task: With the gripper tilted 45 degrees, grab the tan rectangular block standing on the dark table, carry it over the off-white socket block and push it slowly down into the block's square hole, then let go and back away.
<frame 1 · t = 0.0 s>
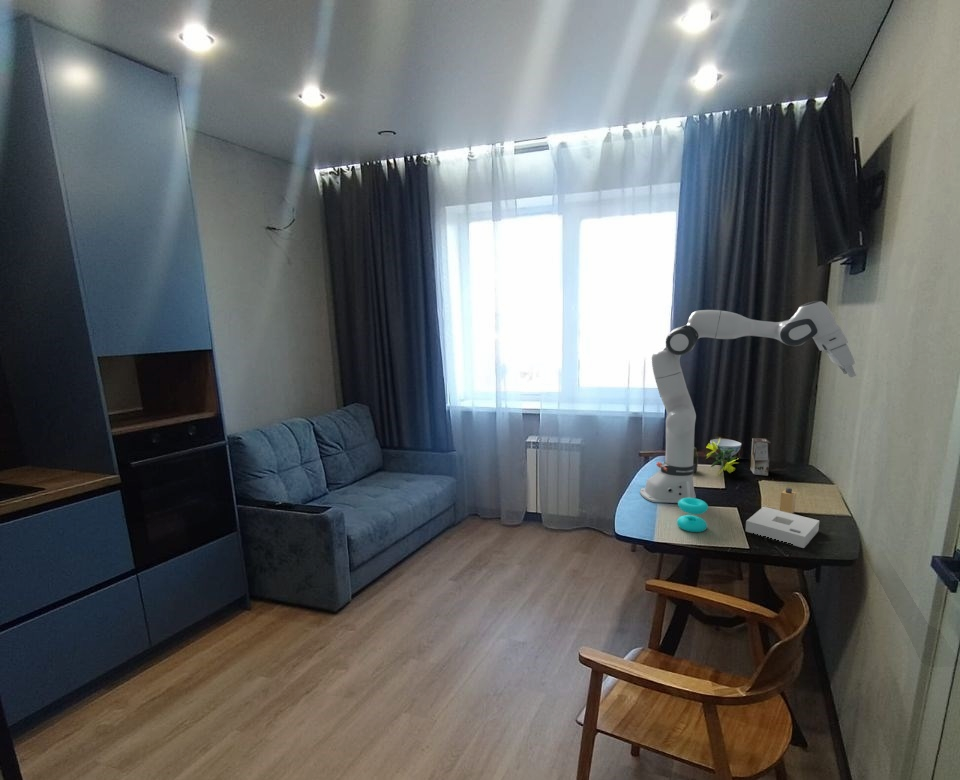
hand: (849, 374, 177), 54 cm above the table, tool tilted 30°, fingers open, 8 cm apart
coffee box: (759, 472, 237), on the table
supplement bottle: (689, 471, 240), on the table
chinaware: (724, 456, 263), on the table
tan rectangular block: (786, 511, 191), on the table
socket block: (781, 531, 174), on the table
donuts: (691, 528, 179), on the table
daffodil flowers: (720, 469, 243), on the table
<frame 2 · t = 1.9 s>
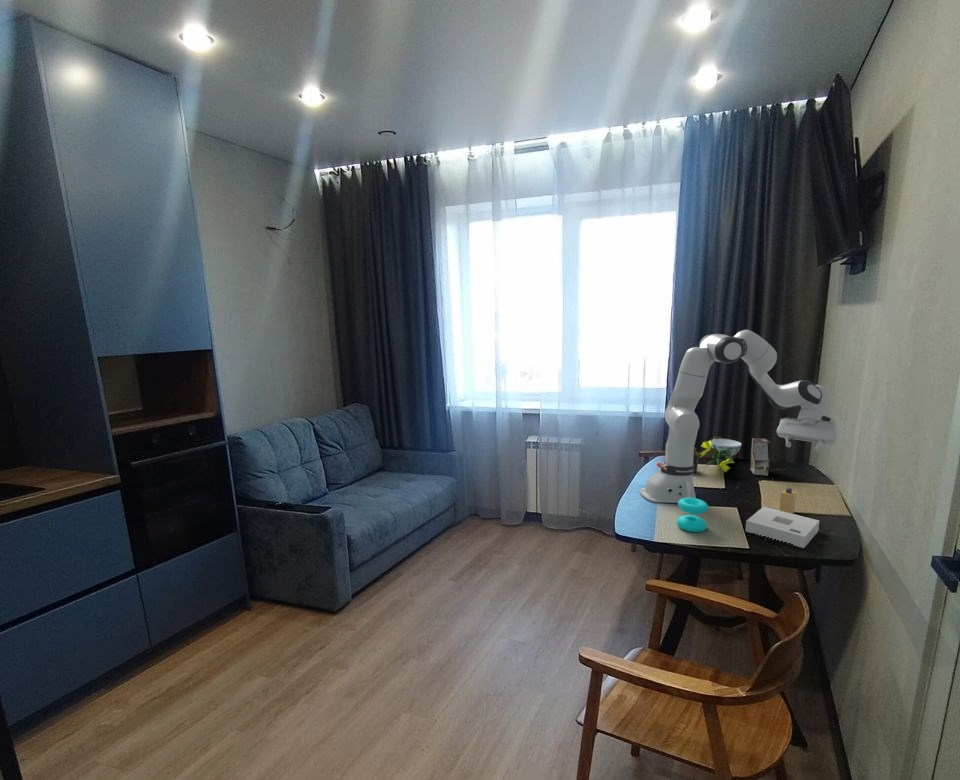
hand: (801, 448, 195), 23 cm above the table, tool tilted 45°, fingers open, 8 cm apart
daffodil flowers: (717, 468, 245), on the table
everything else where it was.
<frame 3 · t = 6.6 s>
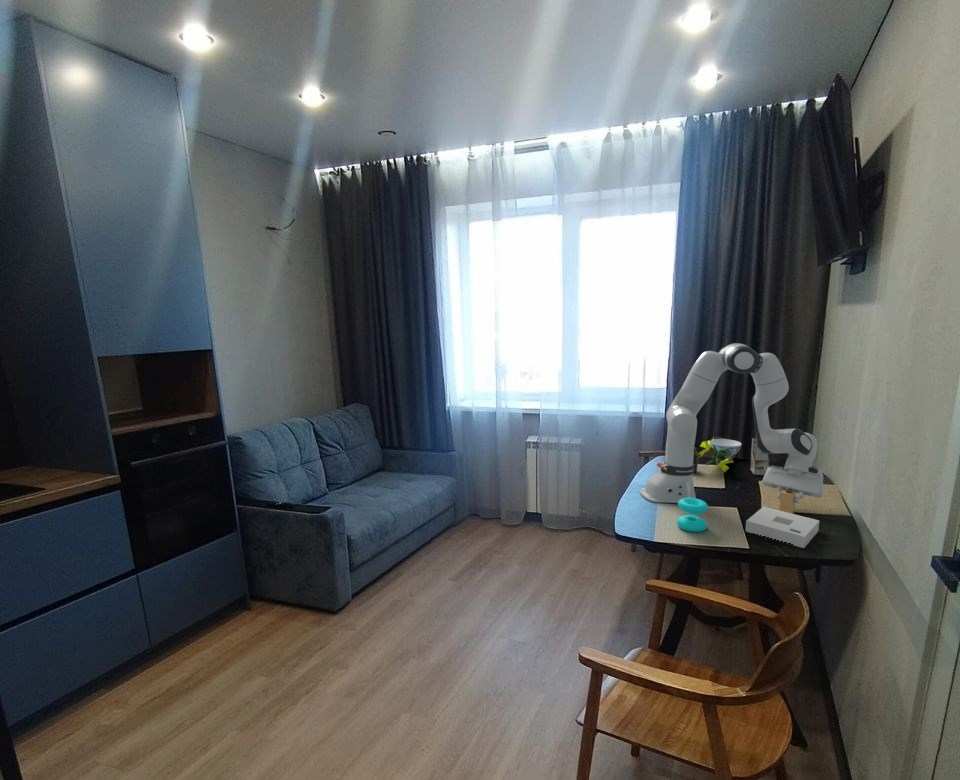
hand: (787, 500, 189), 5 cm above the table, tool tilted 45°, fingers closed on tan rectangular block, 4 cm apart
supplement bottle: (689, 471, 240), on the table, touching daffodil flowers
chinaware: (724, 456, 264), on the table, touching daffodil flowers
tan rectangular block: (786, 511, 191), on the table, touching gripper
daffodil flowers: (717, 468, 245), on the table, touching chinaware, supplement bottle
everything else where it was.
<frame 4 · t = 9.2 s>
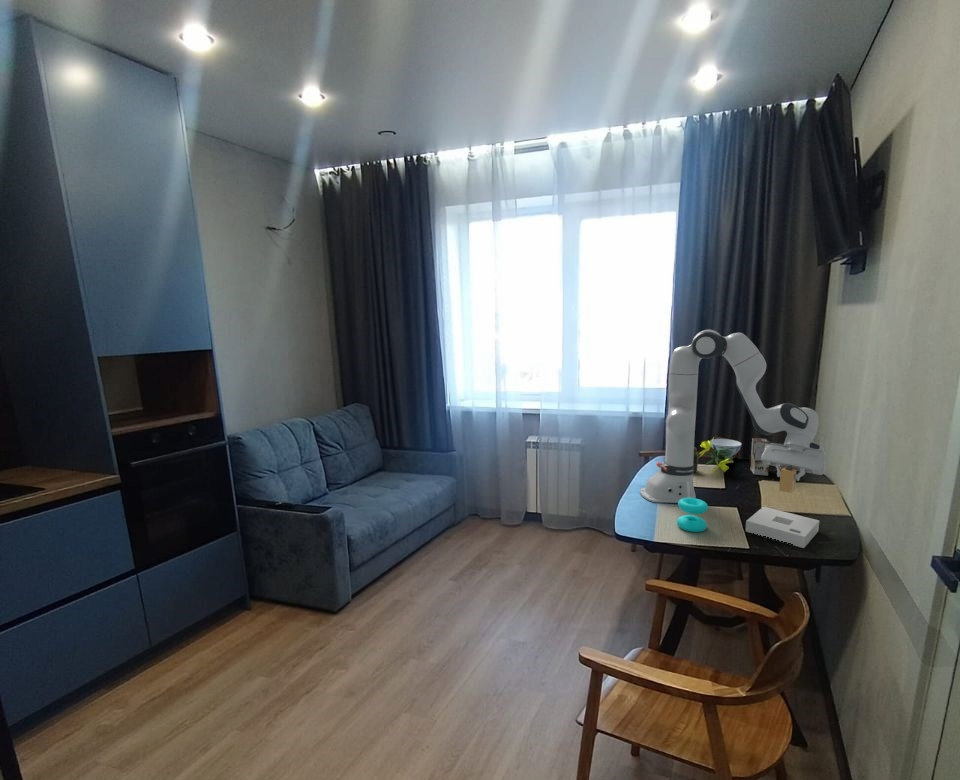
hand: (787, 478, 179), 17 cm above the table, tool tilted 45°, fingers closed on tan rectangular block, 4 cm apart
chinaware: (724, 456, 264), on the table
tan rectangular block: (786, 490, 180), point 12 cm above the table, touching gripper
daffodil flowers: (716, 468, 245), on the table, touching supplement bottle
everything else where it was.
when the fingers open (7 cm above the table, at t = 12.2 s): tan rectangular block drops 2 cm, resting in socket block.
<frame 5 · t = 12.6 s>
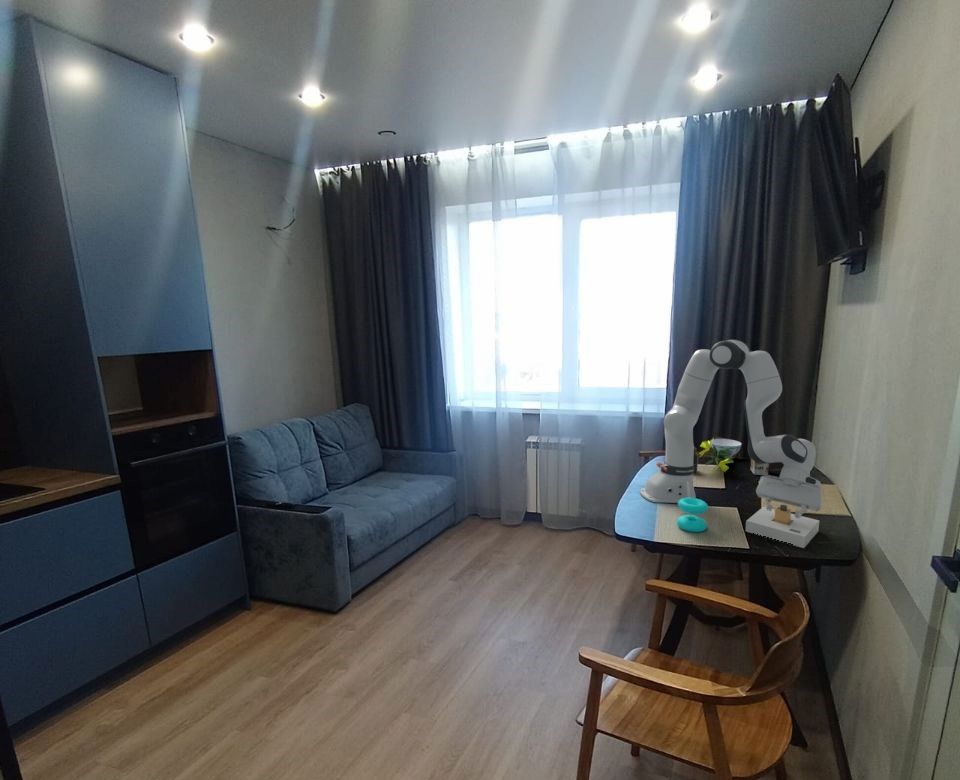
hand: (782, 513, 173), 7 cm above the table, tool tilted 45°, fingers open, 8 cm apart
tan rectangular block: (781, 531, 174), resting in socket block
everything else where it was.
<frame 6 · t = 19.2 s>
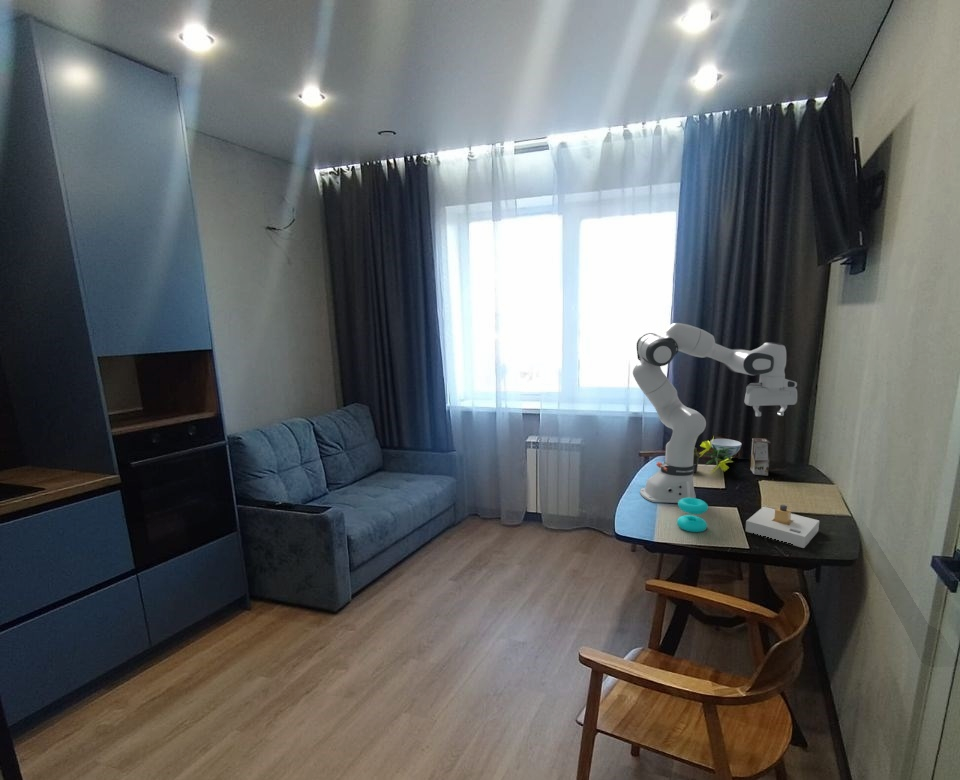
hand: (769, 415, 200), 35 cm above the table, tool pointing down, fingers open, 8 cm apart
supplement bottle: (689, 471, 240), on the table
chinaware: (724, 456, 264), on the table, touching daffodil flowers
daffodil flowers: (716, 468, 245), on the table, touching chinaware
everything else where it was.
at the end: tan rectangular block 0.1 cm off-centre on the socket block, point 0.0 cm above the socket block's base; tan rectangular block tilted 0°; the gripper is holding nothing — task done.
